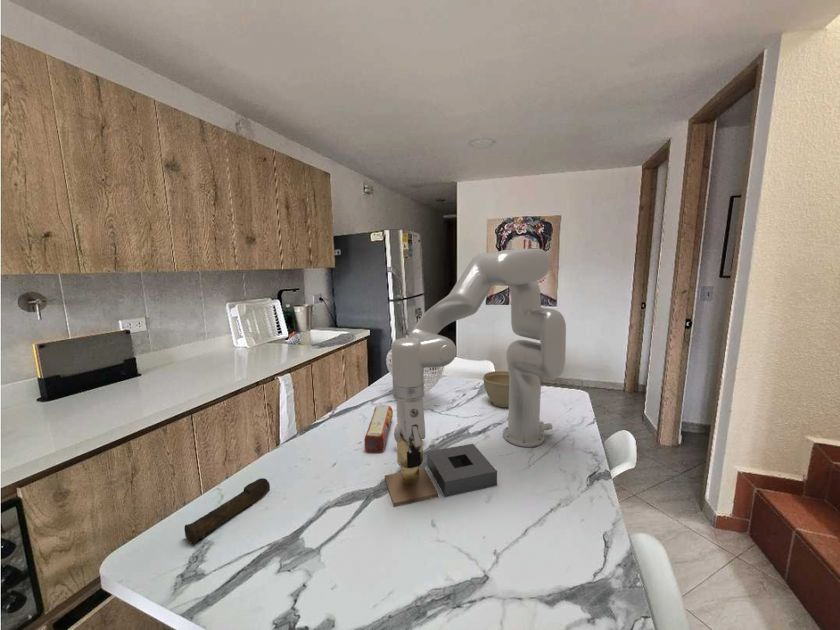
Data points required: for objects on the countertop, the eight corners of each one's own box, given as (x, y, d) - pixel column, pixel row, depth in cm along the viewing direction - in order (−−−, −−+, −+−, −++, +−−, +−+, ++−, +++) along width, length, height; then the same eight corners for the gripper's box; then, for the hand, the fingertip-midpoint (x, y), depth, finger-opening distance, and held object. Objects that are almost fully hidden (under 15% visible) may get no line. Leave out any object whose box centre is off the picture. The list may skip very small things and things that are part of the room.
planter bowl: (503, 392, 149) (503, 368, 147) (533, 405, 135) (534, 378, 134) (474, 400, 140) (474, 375, 139) (503, 415, 127) (504, 387, 125)
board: (424, 471, 94) (424, 467, 94) (438, 497, 83) (438, 493, 83) (384, 478, 91) (384, 475, 91) (393, 506, 80) (393, 503, 80)
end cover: (419, 469, 91) (418, 433, 89) (426, 484, 85) (425, 446, 83) (395, 473, 89) (394, 437, 87) (400, 489, 83) (400, 450, 81)
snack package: (385, 454, 103) (384, 432, 102) (363, 454, 103) (362, 432, 102) (393, 421, 124) (392, 403, 123) (374, 421, 124) (374, 403, 123)
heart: (451, 406, 135) (450, 351, 132) (418, 417, 126) (417, 358, 123) (410, 386, 158) (409, 339, 154) (380, 394, 149) (379, 344, 145)
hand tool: (193, 548, 70) (191, 528, 69) (184, 540, 72) (181, 520, 71) (276, 495, 86) (275, 478, 85) (266, 490, 88) (265, 473, 87)
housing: (472, 456, 101) (473, 443, 100) (496, 485, 87) (497, 471, 87) (427, 465, 97) (426, 451, 96) (444, 497, 83) (444, 481, 83)
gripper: (435, 401, 76) (435, 476, 79) (413, 376, 92) (415, 439, 95) (401, 405, 74) (403, 482, 77) (386, 379, 90) (388, 443, 93)
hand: (410, 458), depth 86 cm, fingers closed on end cover, 6 cm apart
